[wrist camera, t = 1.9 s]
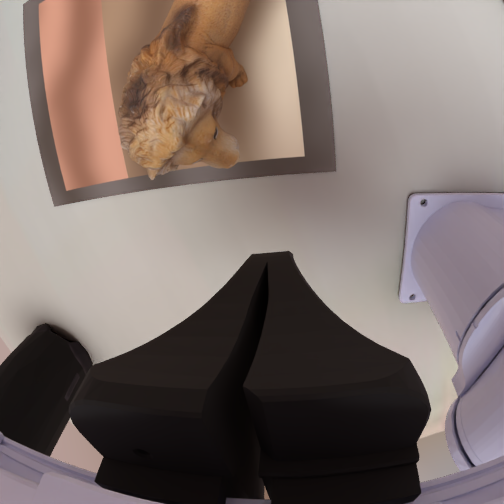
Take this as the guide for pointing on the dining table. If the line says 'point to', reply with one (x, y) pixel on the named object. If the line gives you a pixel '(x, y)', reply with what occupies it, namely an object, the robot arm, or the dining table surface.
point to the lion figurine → (184, 89)
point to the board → (114, 78)
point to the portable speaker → (40, 388)
